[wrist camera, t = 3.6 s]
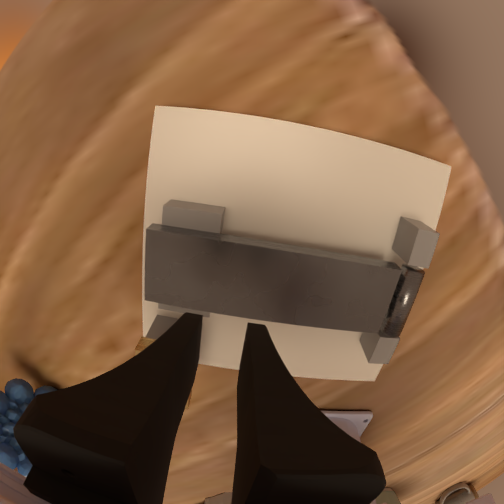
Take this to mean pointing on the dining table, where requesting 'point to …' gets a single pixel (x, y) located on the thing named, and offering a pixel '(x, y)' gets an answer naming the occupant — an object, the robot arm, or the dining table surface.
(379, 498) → the disposable coffee cup
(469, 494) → the ceramic mug
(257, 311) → the strap
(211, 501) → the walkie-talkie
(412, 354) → the dining table surface
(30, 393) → the grapes
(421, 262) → the latch base plate
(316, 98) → the dining table surface
